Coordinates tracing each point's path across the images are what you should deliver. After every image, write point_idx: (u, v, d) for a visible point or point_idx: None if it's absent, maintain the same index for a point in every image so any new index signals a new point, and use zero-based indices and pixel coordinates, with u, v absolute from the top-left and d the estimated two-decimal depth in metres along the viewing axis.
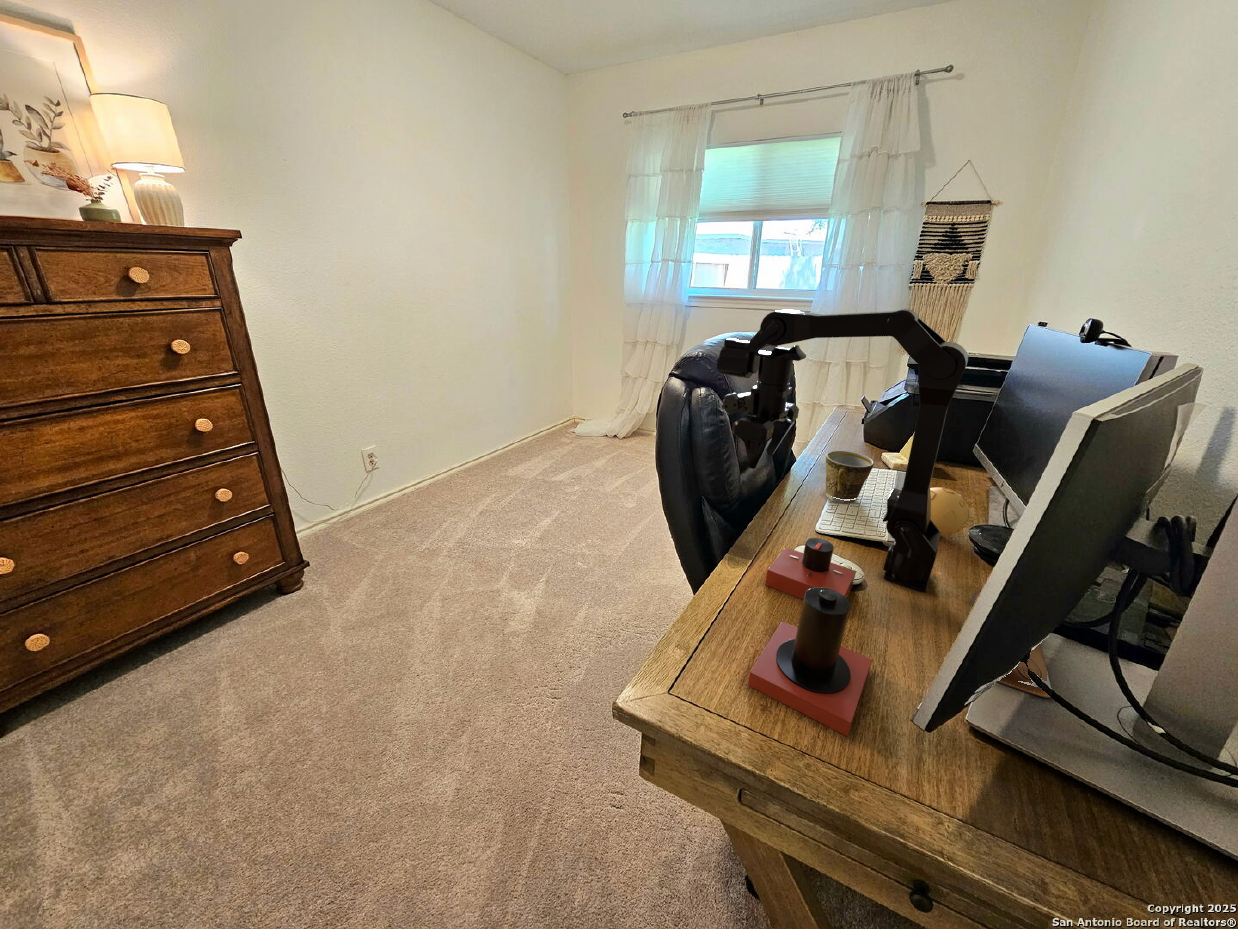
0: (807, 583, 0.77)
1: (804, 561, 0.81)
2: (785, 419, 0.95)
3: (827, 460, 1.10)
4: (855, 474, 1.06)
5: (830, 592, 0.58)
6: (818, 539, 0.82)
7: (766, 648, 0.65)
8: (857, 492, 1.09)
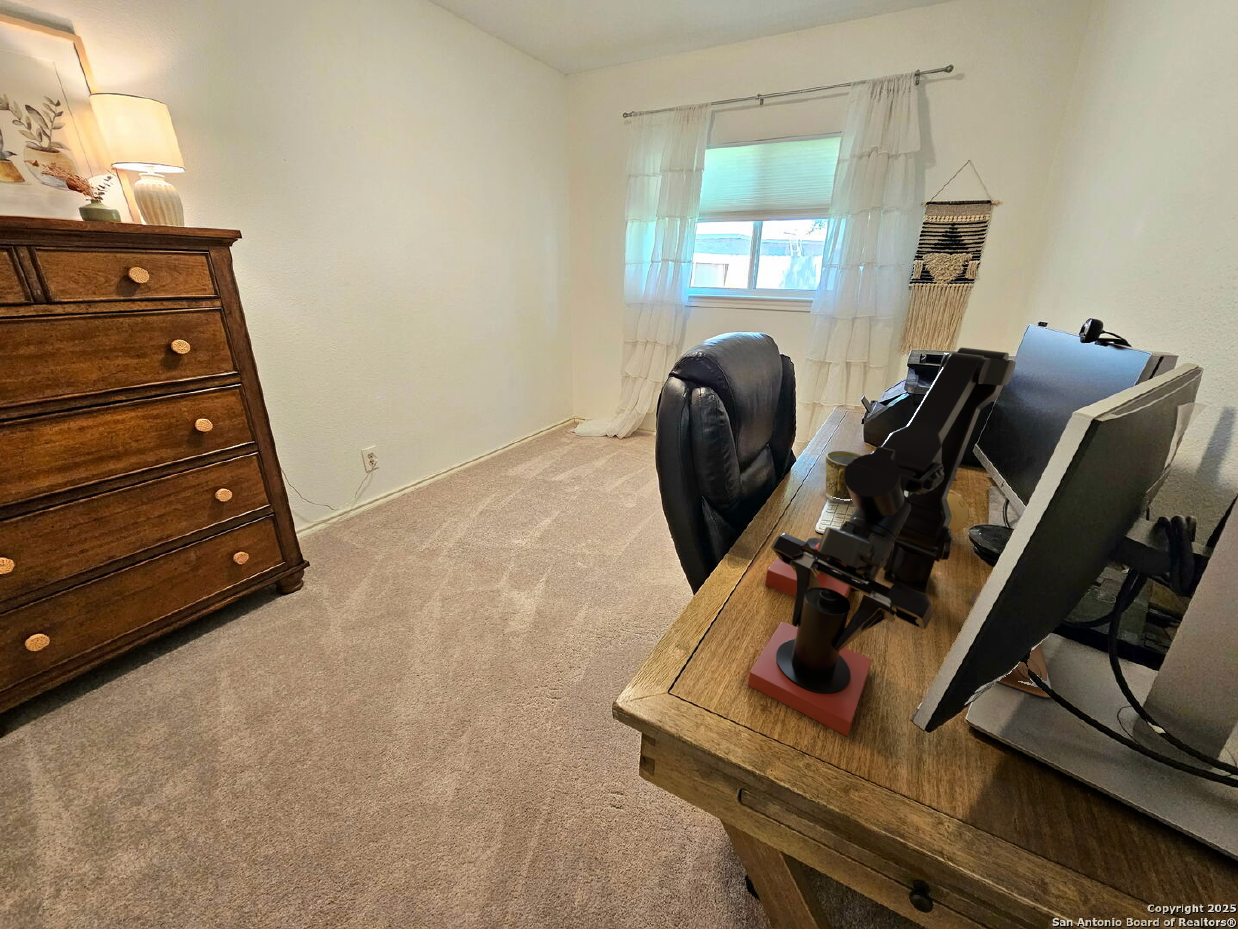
0: None
1: None
2: None
3: (827, 460, 1.10)
4: None
5: (830, 592, 0.58)
6: (818, 539, 0.82)
7: (766, 648, 0.65)
8: None
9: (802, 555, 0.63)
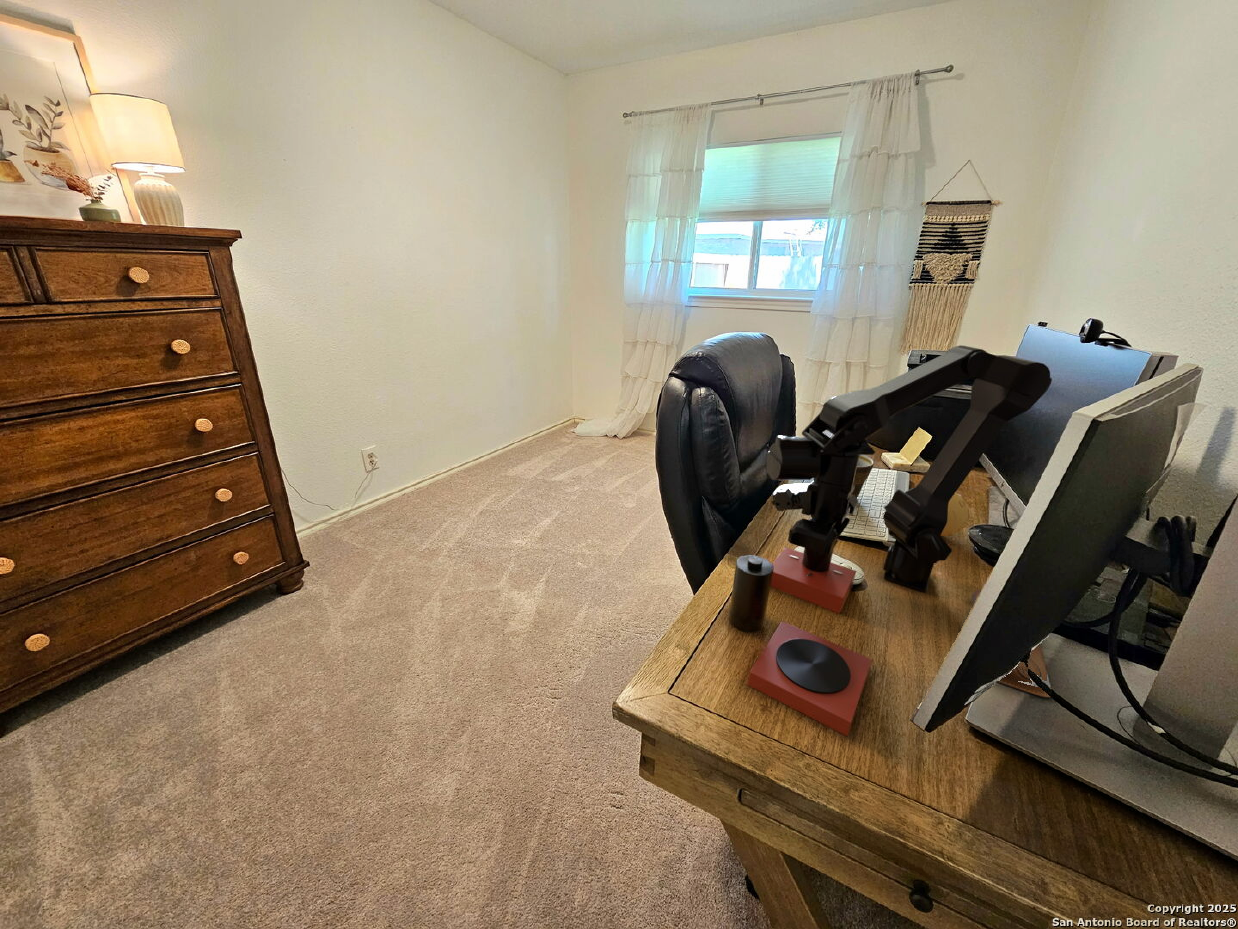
0: (807, 583, 0.77)
1: (804, 561, 0.81)
2: None
3: None
4: (855, 474, 1.06)
5: (758, 559, 0.69)
6: None
7: (766, 648, 0.65)
8: (857, 492, 1.09)
9: None
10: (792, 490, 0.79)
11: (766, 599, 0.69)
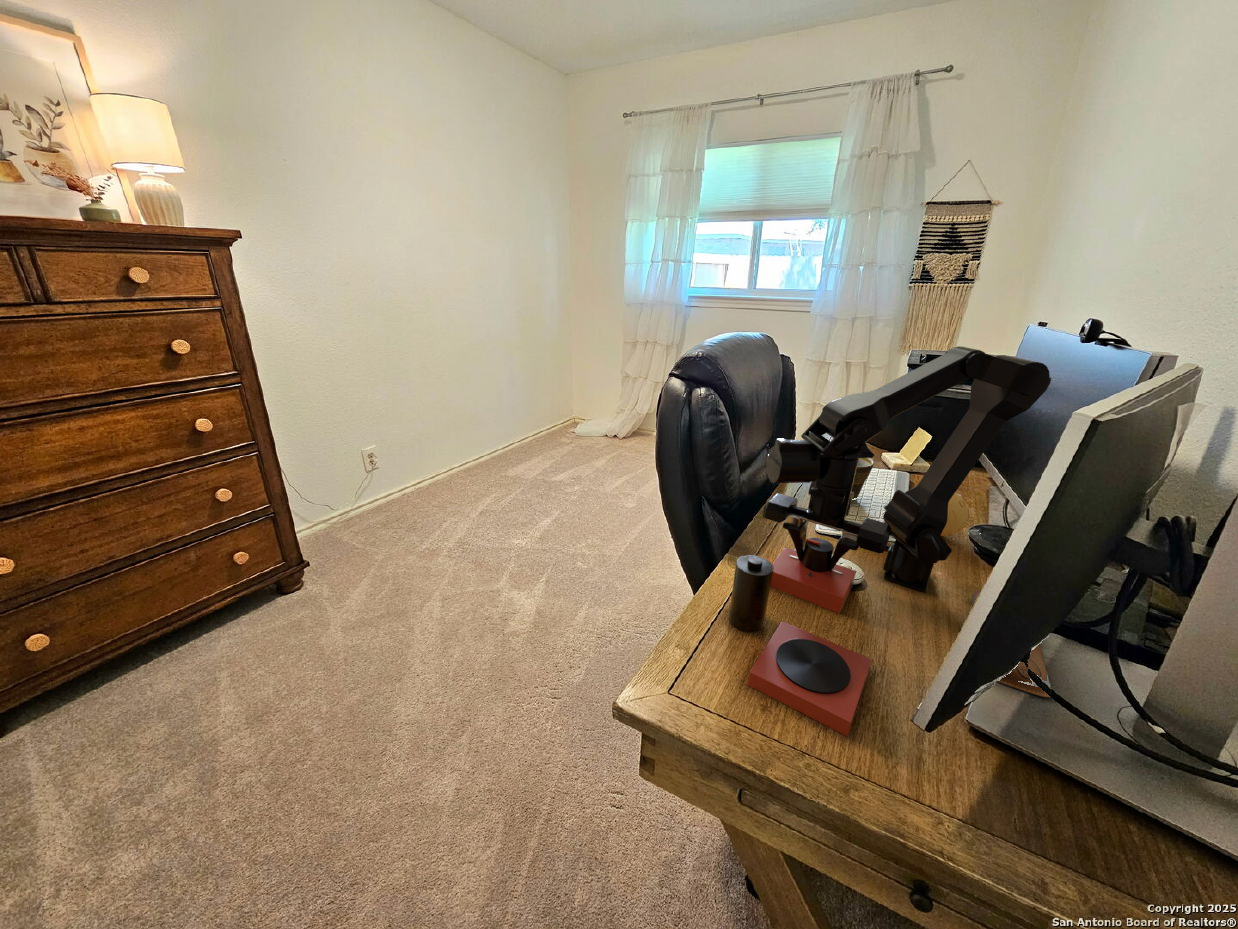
0: (807, 583, 0.77)
1: None
2: (847, 539, 0.76)
3: None
4: (855, 474, 1.06)
5: (758, 559, 0.69)
6: (830, 545, 0.80)
7: (766, 648, 0.65)
8: (857, 492, 1.09)
9: None
10: None
11: (766, 599, 0.69)
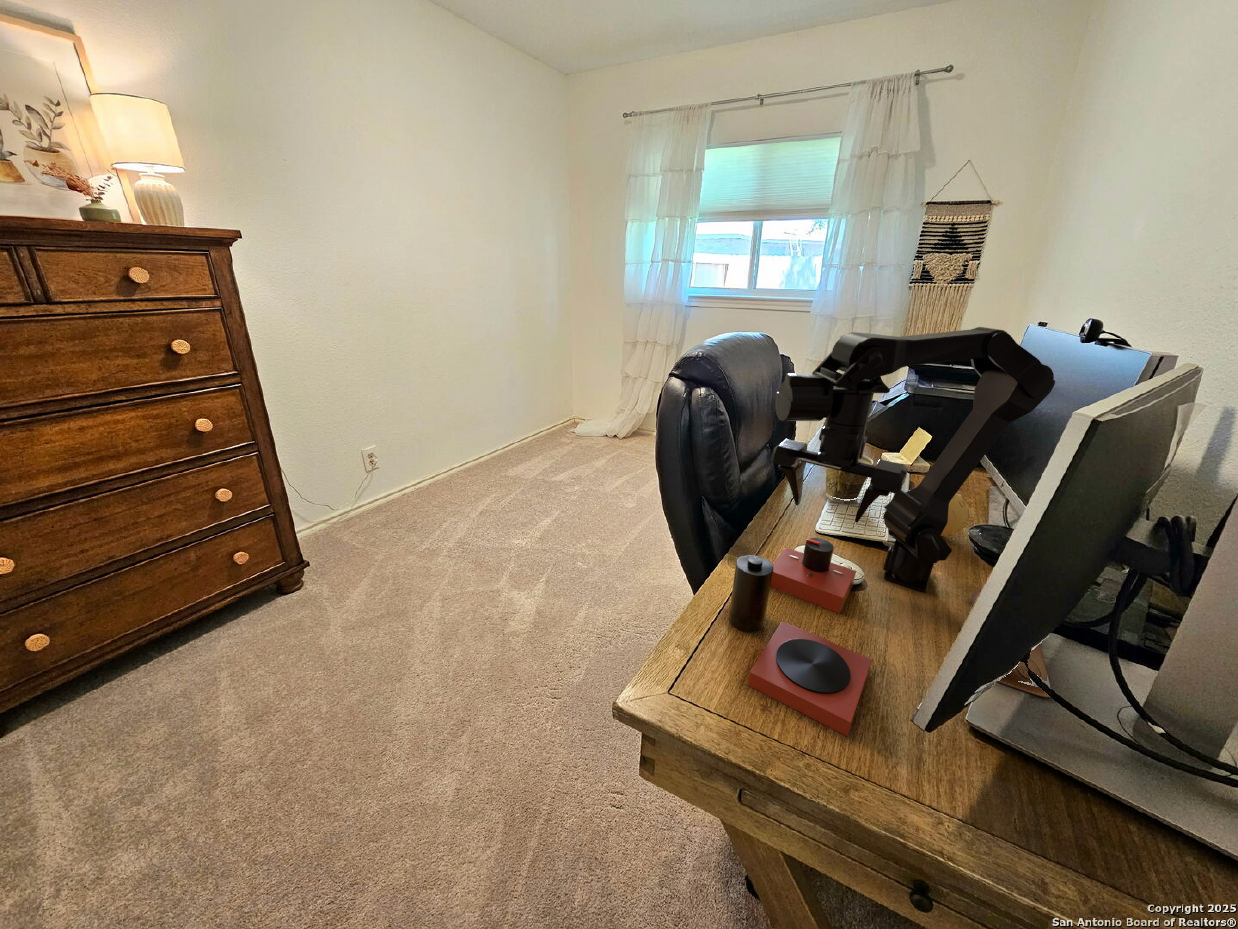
0: (807, 583, 0.77)
1: None
2: None
3: None
4: (855, 474, 1.06)
5: (758, 559, 0.69)
6: (830, 545, 0.80)
7: (766, 648, 0.65)
8: (857, 492, 1.09)
9: None
10: None
11: (766, 599, 0.69)
